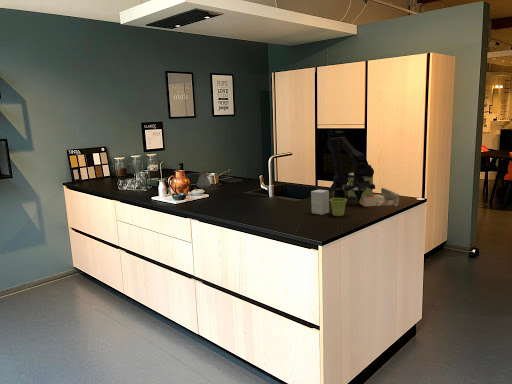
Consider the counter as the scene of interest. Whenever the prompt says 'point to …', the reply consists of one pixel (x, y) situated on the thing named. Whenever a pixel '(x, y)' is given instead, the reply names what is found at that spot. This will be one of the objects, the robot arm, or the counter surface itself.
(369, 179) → the protein box
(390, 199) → the display nook
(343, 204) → the plant pot
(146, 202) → the counter surface
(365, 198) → the beige rectangular block
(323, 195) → the supplement box
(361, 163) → the robot arm
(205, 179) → the coffee pot
